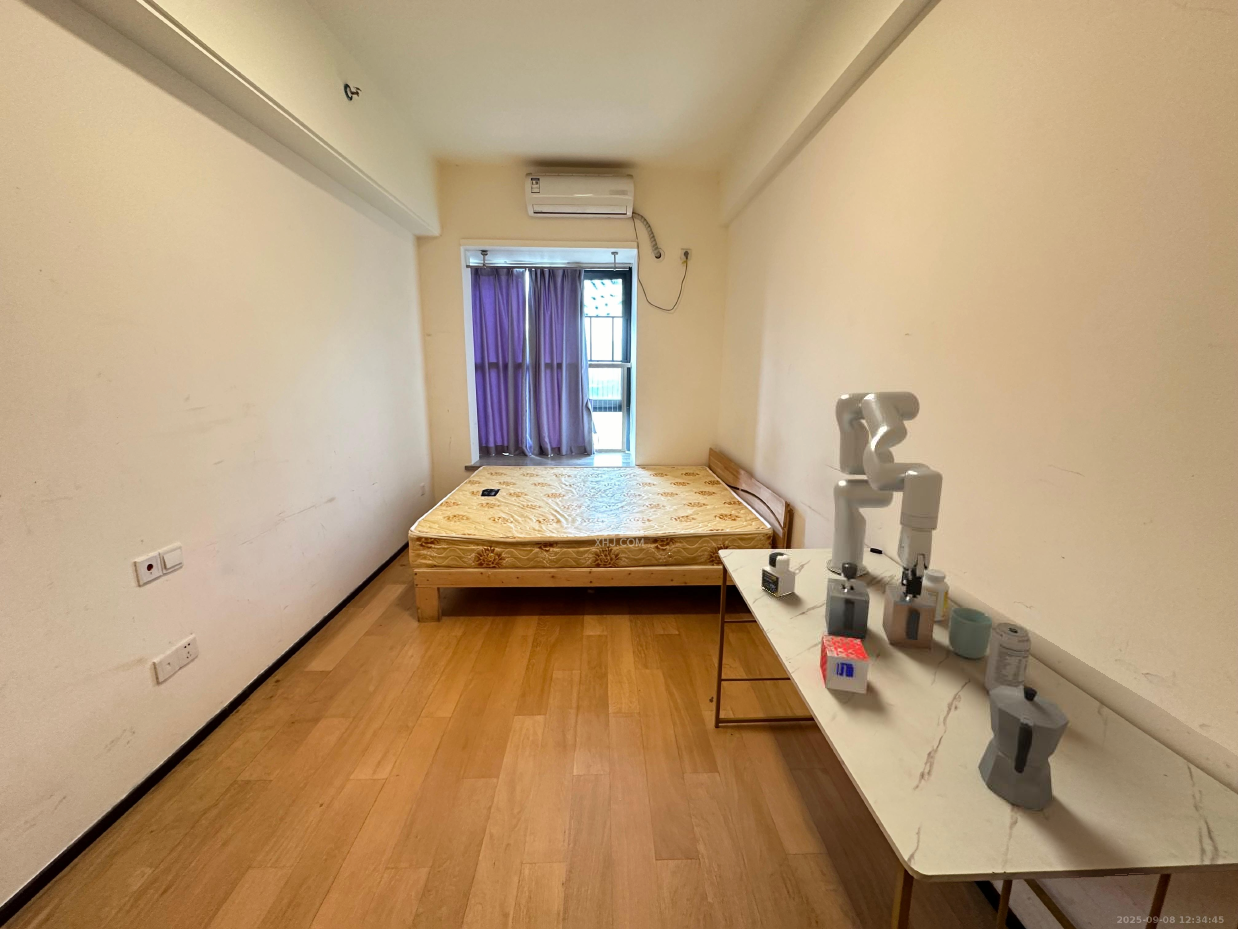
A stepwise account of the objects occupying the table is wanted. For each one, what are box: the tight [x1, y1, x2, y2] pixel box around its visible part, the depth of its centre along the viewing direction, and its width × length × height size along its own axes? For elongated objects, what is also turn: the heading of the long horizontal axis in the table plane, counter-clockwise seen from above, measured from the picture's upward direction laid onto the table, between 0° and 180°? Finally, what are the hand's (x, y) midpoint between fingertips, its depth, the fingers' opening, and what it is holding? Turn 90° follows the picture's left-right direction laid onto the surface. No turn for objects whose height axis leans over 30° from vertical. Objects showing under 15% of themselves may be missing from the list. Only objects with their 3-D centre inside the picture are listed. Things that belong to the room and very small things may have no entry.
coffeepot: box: [977, 684, 1070, 811], centre depth 71 cm, size 15×9×18 cm, turn 137°
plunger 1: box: [840, 562, 858, 590], centre depth 117 cm, size 6×6×16 cm
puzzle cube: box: [819, 634, 870, 695], centre depth 100 cm, size 8×8×8 cm
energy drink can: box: [984, 622, 1032, 693], centre depth 93 cm, size 6×6×15 cm
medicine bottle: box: [761, 551, 797, 597], centre depth 140 cm, size 7×7×12 cm
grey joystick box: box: [824, 577, 871, 641], centre depth 118 cm, size 10×9×12 cm
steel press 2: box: [881, 584, 936, 651], centre depth 113 cm, size 10×9×12 cm
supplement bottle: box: [922, 568, 950, 622], centre depth 123 cm, size 7×7×13 cm
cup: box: [947, 606, 994, 659], centre depth 107 cm, size 8×8×10 cm
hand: (910, 589), depth 112 cm, fingers closed on plunger 2, 3 cm apart
